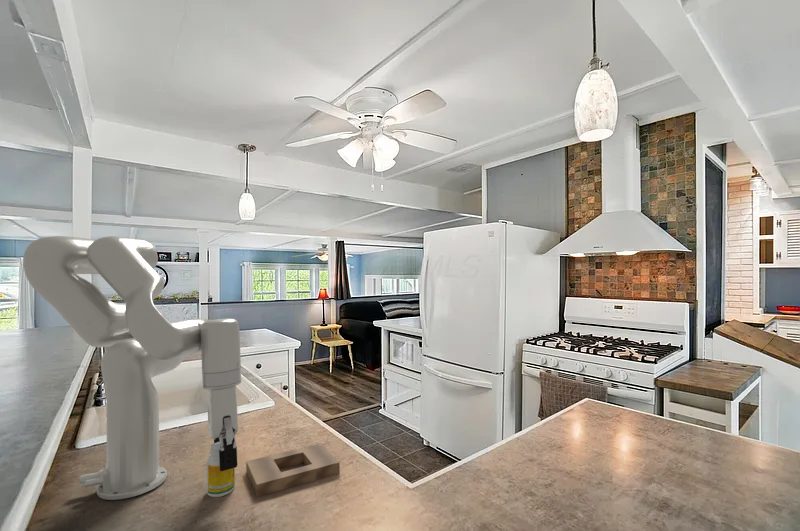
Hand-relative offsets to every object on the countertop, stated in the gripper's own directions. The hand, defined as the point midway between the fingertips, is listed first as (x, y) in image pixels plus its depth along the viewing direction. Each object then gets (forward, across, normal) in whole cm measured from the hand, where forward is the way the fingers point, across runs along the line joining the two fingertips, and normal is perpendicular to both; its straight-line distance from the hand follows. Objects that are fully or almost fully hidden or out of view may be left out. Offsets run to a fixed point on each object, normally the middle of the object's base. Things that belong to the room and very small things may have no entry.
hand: (225, 459), depth 83 cm
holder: (+7, 0, +14) cm, 16 cm away
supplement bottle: (+7, -1, -1) cm, 7 cm away
